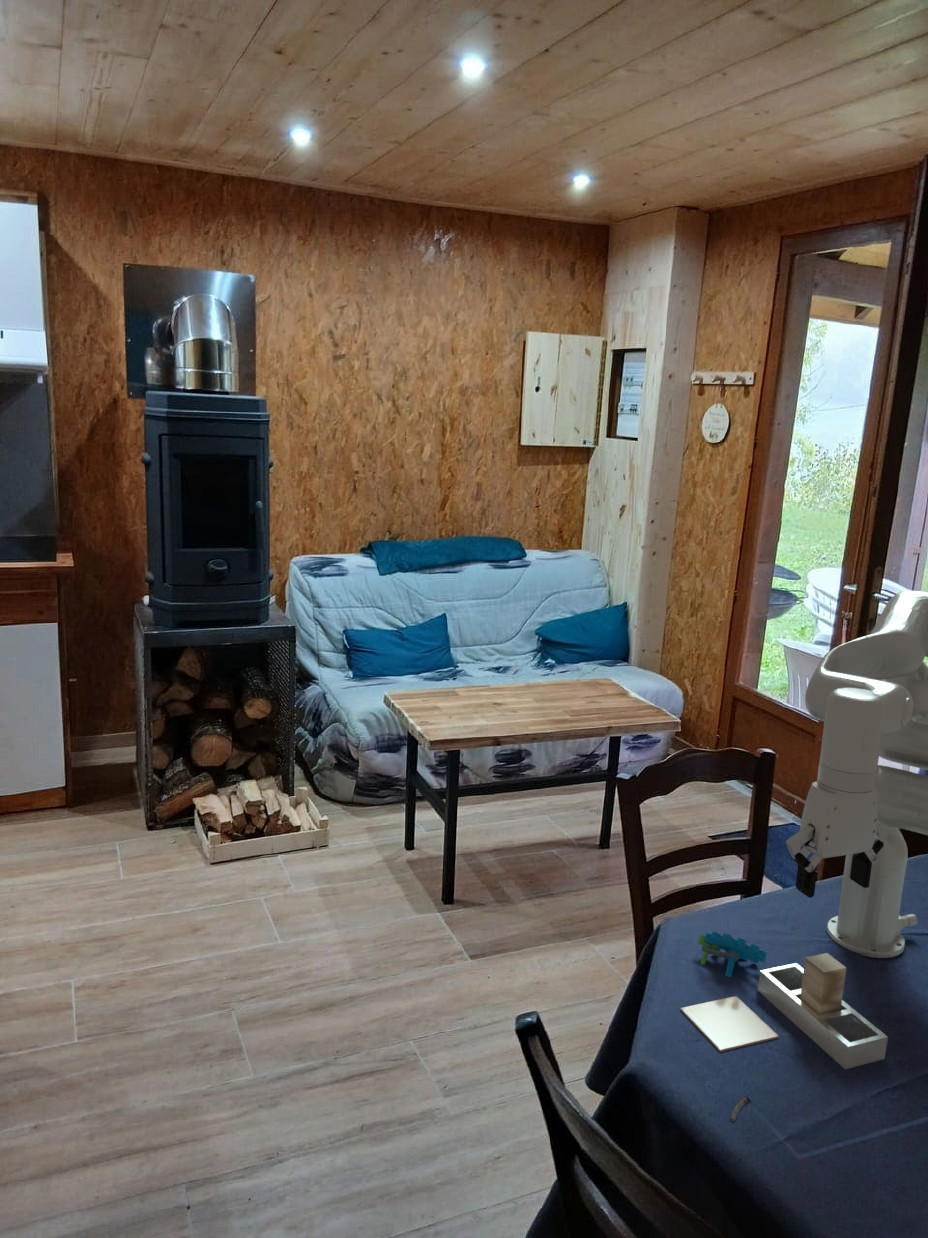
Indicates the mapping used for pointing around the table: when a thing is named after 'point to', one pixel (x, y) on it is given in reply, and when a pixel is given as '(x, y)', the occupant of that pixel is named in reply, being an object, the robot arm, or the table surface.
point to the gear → (729, 950)
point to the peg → (823, 984)
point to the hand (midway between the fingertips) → (832, 888)
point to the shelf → (823, 1020)
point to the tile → (729, 1023)
